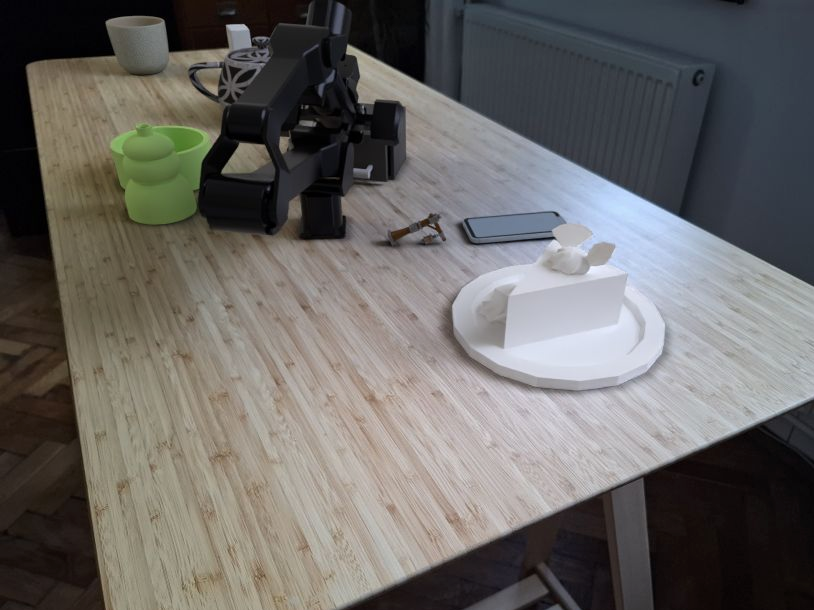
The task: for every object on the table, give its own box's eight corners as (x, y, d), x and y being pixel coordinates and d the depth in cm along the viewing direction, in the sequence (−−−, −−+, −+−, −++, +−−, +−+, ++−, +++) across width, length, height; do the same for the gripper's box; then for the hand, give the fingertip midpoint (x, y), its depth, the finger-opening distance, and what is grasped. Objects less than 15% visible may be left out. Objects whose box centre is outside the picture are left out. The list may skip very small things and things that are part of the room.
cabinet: (394, 179, 115) (393, 124, 110) (323, 173, 116) (318, 118, 111) (406, 158, 123) (405, 106, 118) (340, 152, 124) (336, 100, 119)
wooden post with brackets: (452, 240, 96) (439, 212, 93) (400, 260, 97) (386, 234, 95) (451, 234, 97) (439, 207, 95) (400, 254, 99) (386, 228, 96)
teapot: (357, 129, 135) (353, 48, 126) (193, 135, 129) (176, 50, 120) (347, 101, 150) (343, 26, 141) (199, 105, 143) (185, 27, 135)
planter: (107, 70, 162) (95, 20, 156) (156, 62, 170) (146, 13, 164) (135, 81, 156) (122, 29, 149) (184, 71, 164) (174, 22, 157)
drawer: (381, 191, 109) (379, 144, 104) (313, 185, 110) (309, 138, 105) (398, 162, 120) (397, 118, 115) (336, 156, 120) (333, 113, 116)
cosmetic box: (233, 80, 160) (225, 24, 153) (252, 79, 161) (244, 23, 154) (238, 87, 155) (229, 30, 148) (257, 86, 157) (250, 29, 150)
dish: (543, 254, 96) (552, 176, 89) (703, 330, 81) (728, 245, 75) (408, 317, 81) (407, 230, 75) (574, 423, 67) (591, 327, 60)
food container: (125, 164, 116) (105, 87, 108) (215, 159, 119) (202, 84, 112) (105, 228, 96) (79, 140, 89) (214, 220, 100) (198, 134, 93)
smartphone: (461, 217, 102) (556, 210, 105) (460, 223, 103) (556, 215, 106) (472, 239, 96) (573, 231, 99) (472, 246, 97) (572, 237, 100)
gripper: (400, 43, 94) (415, 102, 109) (268, 33, 95) (301, 93, 111) (389, 118, 92) (406, 167, 108) (255, 108, 94) (291, 157, 109)
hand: (351, 144), depth 109 cm, fingers closed, pressing on drawer
